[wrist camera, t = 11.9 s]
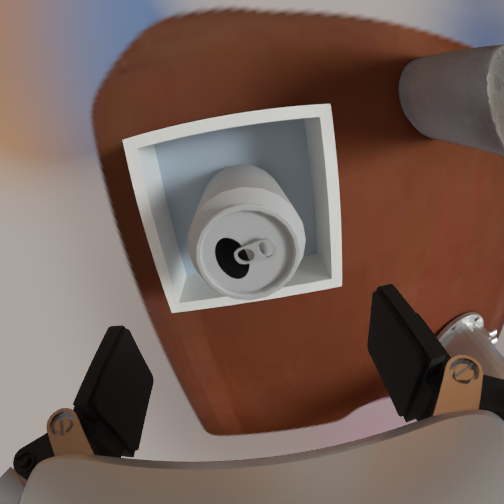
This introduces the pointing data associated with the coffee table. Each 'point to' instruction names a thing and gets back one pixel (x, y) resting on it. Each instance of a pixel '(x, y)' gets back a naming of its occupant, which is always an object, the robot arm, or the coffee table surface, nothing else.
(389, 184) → the coffee table surface
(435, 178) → the coffee table surface
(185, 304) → the walled box
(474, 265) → the coffee table surface
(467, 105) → the pillar candle
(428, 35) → the coffee table surface
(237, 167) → the can
